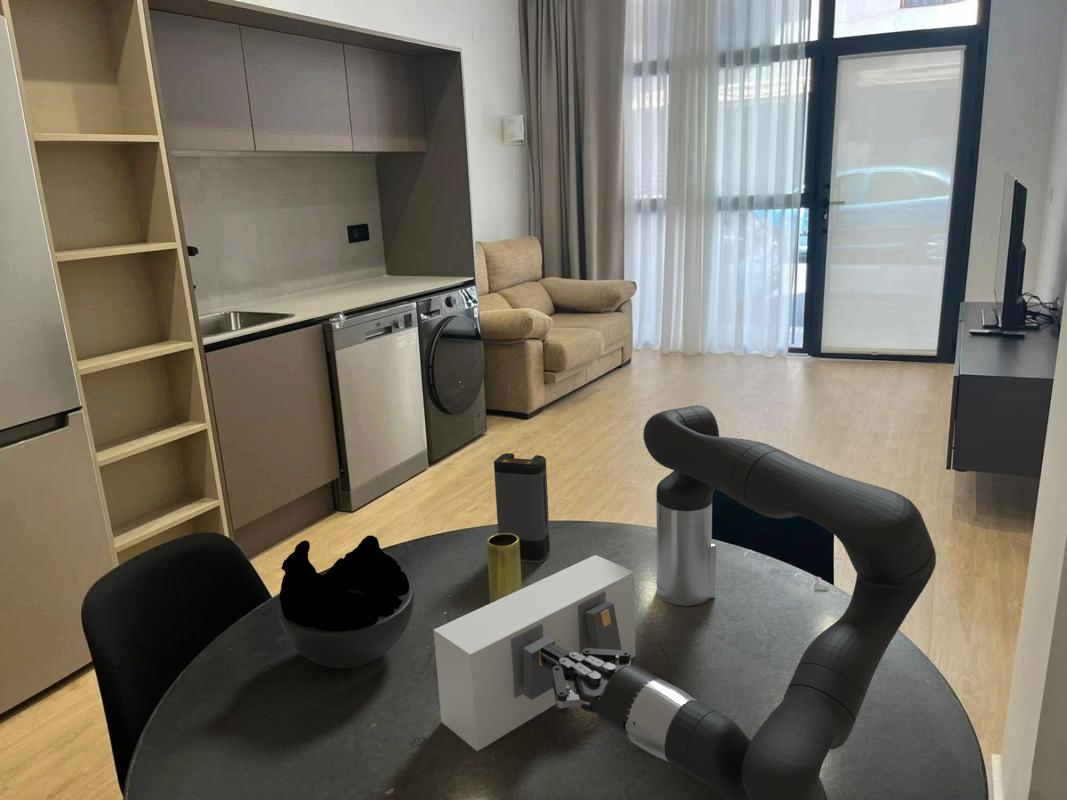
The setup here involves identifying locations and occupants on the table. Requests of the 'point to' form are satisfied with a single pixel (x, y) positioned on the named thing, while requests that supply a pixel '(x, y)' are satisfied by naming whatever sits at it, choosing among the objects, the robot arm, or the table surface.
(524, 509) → the electronic device
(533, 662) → the outer rocker
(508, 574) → the vase
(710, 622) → the table surface
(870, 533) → the robot arm
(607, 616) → the block
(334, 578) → the coal bowl
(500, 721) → the power box
